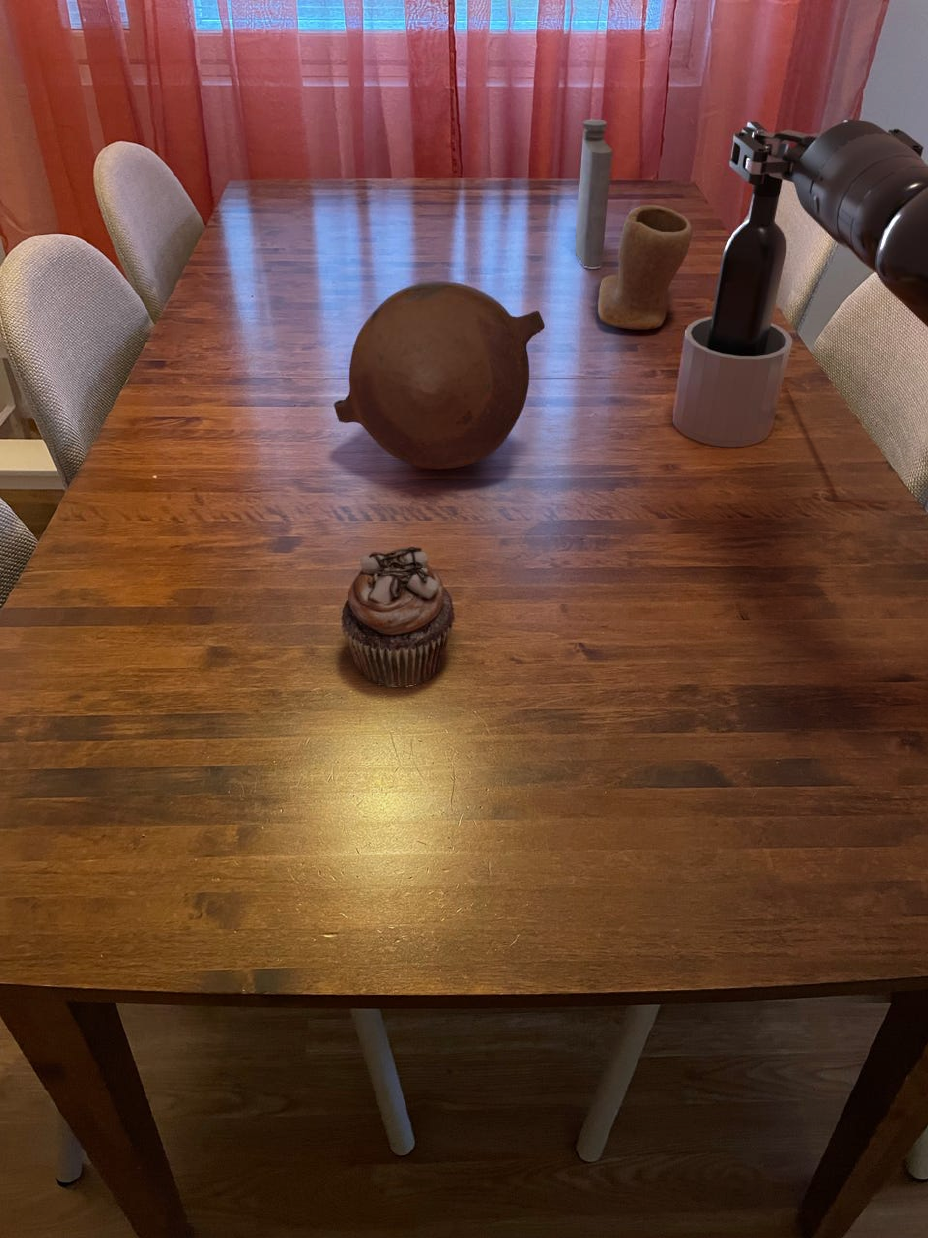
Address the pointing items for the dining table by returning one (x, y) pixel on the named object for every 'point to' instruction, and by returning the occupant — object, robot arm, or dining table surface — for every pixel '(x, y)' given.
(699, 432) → the cup
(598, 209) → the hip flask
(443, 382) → the jug
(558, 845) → the dining table surface
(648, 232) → the brown boot vase
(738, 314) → the wine bottle
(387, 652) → the cupcake
